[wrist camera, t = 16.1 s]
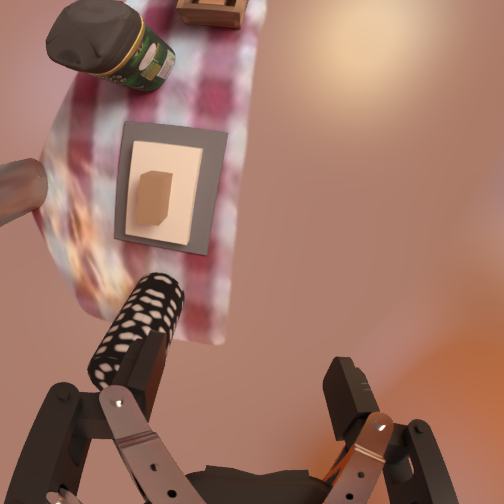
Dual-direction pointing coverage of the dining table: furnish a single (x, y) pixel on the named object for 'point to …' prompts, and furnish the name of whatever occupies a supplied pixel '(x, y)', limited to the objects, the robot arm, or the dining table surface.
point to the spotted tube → (138, 324)
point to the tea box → (213, 12)
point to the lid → (162, 191)
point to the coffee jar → (110, 44)
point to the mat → (206, 185)
